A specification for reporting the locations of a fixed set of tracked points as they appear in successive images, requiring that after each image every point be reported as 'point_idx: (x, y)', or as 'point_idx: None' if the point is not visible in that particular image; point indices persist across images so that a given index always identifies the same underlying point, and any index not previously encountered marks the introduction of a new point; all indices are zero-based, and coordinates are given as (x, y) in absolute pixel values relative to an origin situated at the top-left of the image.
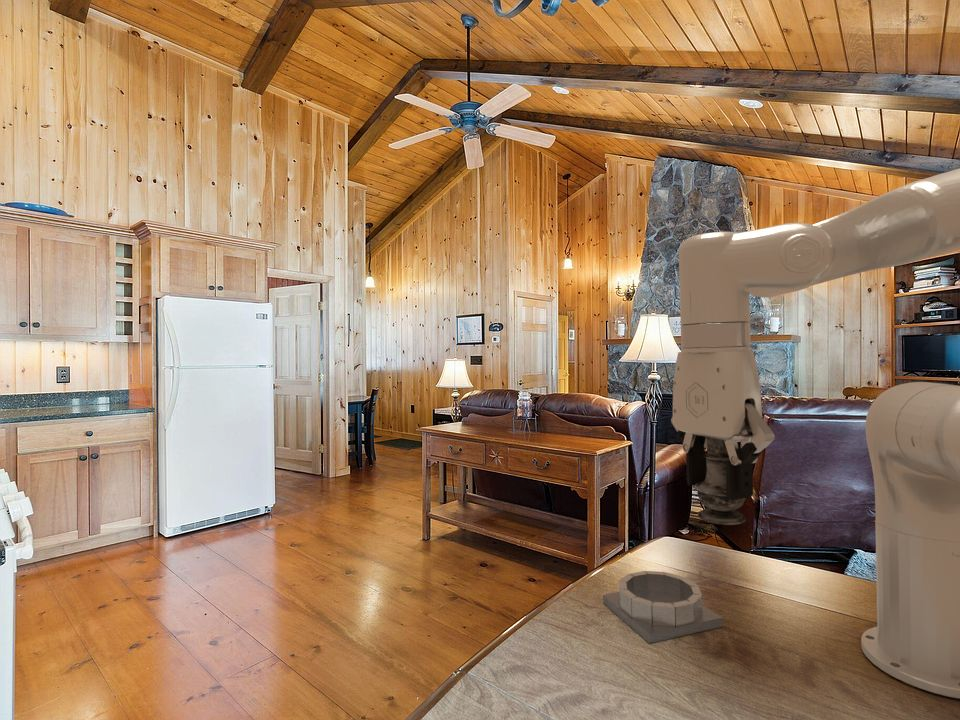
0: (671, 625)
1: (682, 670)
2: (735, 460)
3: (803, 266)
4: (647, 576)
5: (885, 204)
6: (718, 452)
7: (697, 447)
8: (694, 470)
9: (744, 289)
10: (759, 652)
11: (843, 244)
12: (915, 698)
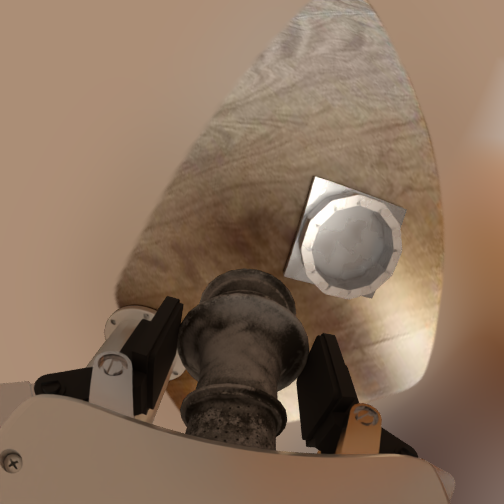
0: (309, 212)
1: (258, 163)
2: (107, 362)
3: None
4: (384, 269)
5: None
6: (206, 412)
7: (331, 436)
8: (320, 368)
9: None
10: (230, 258)
11: None
12: (128, 292)
